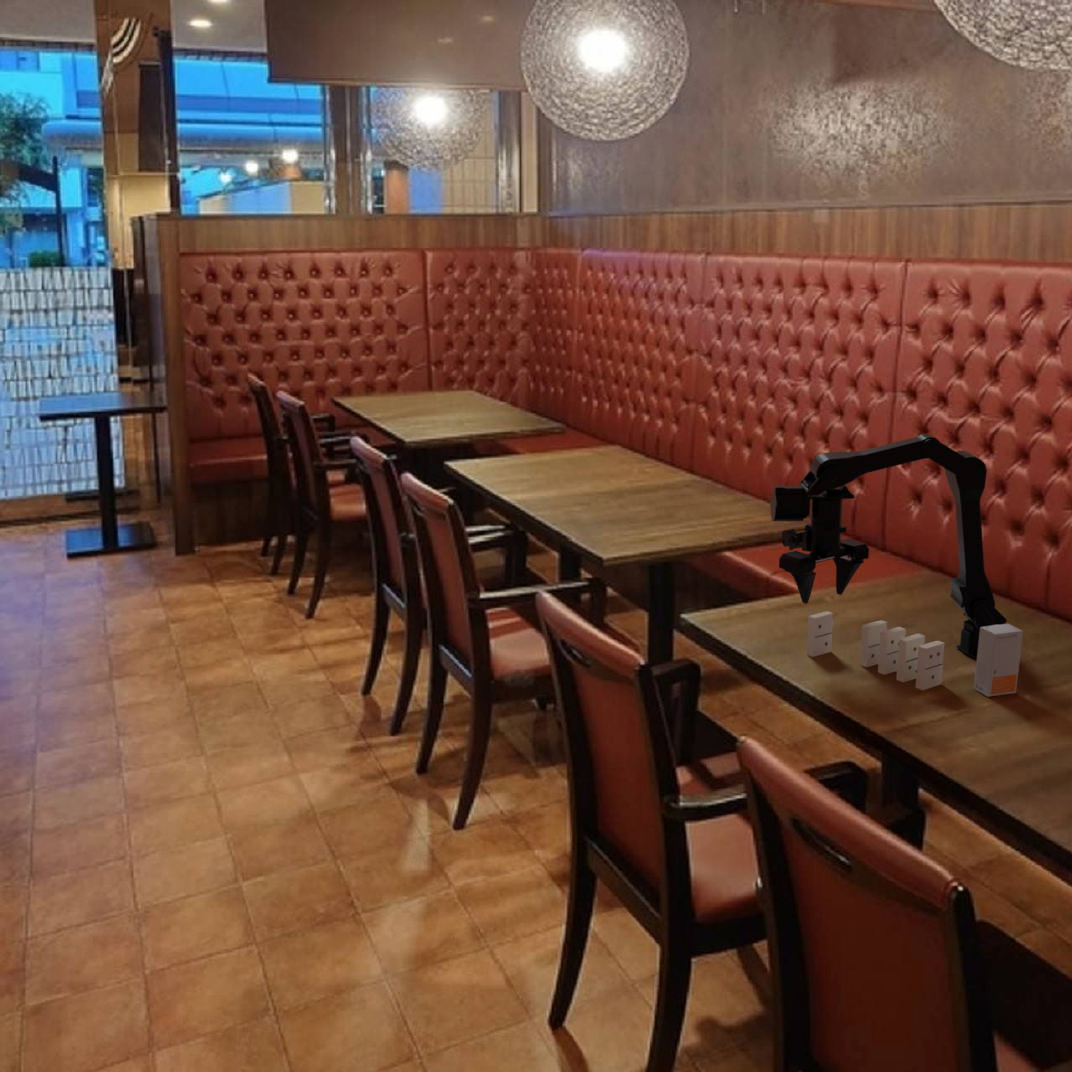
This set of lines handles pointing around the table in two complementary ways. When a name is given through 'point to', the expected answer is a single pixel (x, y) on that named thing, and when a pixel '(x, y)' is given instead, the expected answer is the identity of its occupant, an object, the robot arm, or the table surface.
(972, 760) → the table surface
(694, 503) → the table surface
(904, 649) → the domino
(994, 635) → the skincare box
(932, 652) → the domino
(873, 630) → the domino
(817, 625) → the domino
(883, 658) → the domino
